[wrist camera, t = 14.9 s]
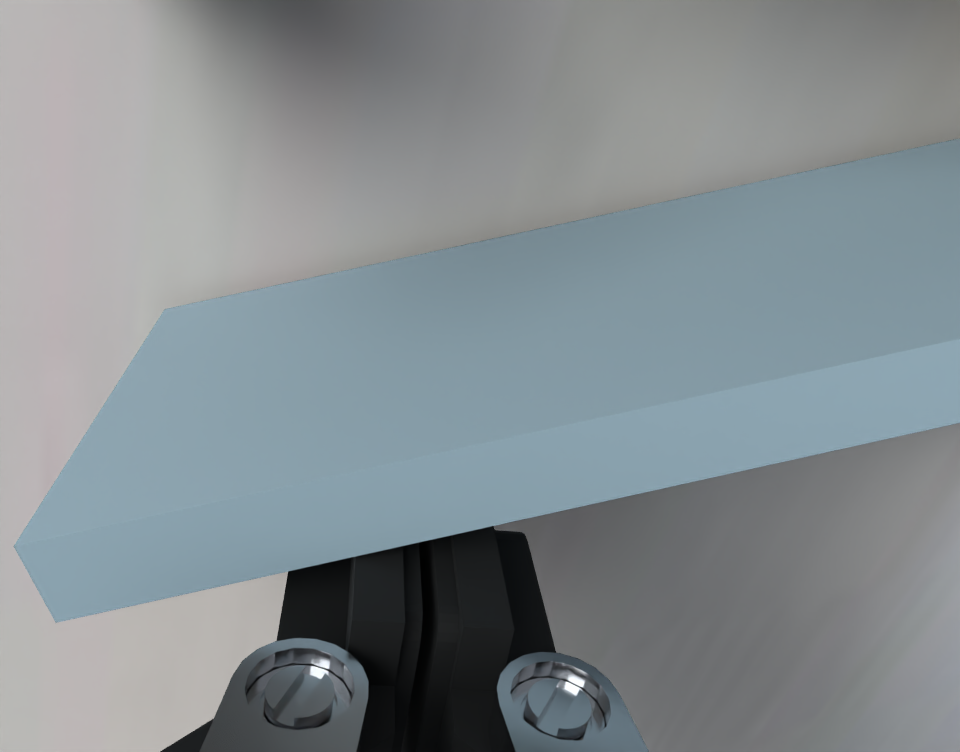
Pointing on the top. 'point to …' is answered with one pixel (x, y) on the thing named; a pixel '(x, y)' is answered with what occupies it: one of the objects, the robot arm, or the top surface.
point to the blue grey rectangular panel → (514, 381)
